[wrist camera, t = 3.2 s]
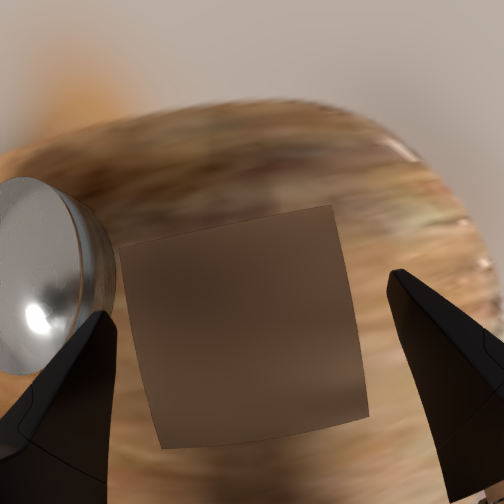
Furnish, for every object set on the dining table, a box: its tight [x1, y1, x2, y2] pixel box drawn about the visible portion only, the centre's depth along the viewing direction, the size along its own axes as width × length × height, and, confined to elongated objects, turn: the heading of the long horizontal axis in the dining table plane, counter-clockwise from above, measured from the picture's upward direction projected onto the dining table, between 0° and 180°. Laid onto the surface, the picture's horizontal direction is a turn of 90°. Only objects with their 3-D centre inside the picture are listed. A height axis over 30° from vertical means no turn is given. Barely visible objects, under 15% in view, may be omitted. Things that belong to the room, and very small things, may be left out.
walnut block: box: [119, 205, 369, 449], centre depth 12 cm, size 5×5×10 cm
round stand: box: [0, 177, 116, 376], centre depth 16 cm, size 11×11×4 cm
